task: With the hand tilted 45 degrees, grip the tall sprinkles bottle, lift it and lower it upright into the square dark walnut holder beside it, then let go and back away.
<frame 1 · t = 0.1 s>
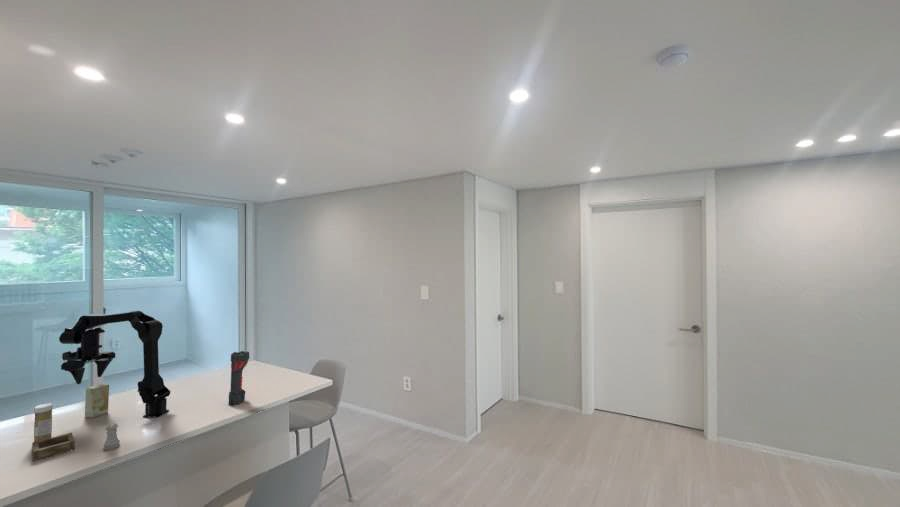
hand: (89, 380, 156), 15 cm above the table, tool pointing down, fingers open, 9 cm apart
flashlight: (239, 402, 170), on the table
rook chess piece: (111, 448, 129), on the table
walnut holder: (53, 450, 127), on the table
skincare box: (96, 415, 156), on the table
sprinkles bottle: (42, 443, 132), on the table
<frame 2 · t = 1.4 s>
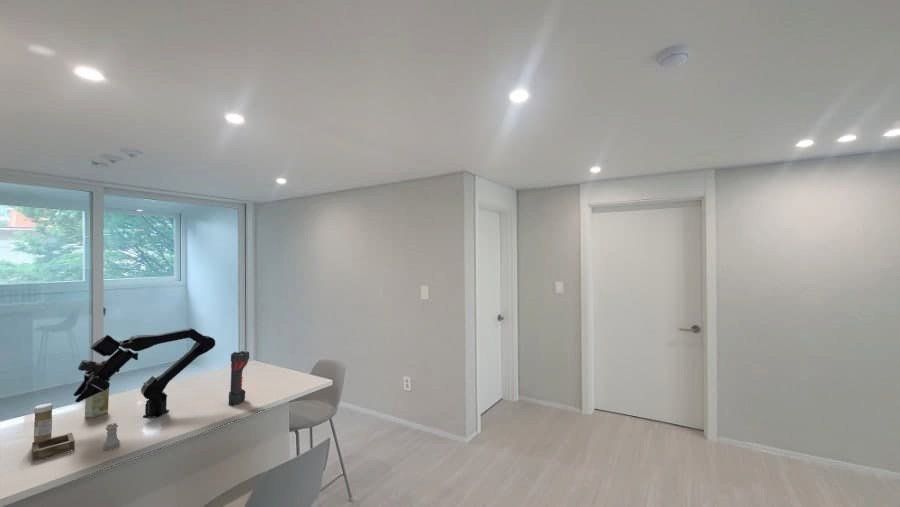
hand: (75, 398, 139), 14 cm above the table, tool tilted 45°, fingers open, 9 cm apart
nothing on the table moved.
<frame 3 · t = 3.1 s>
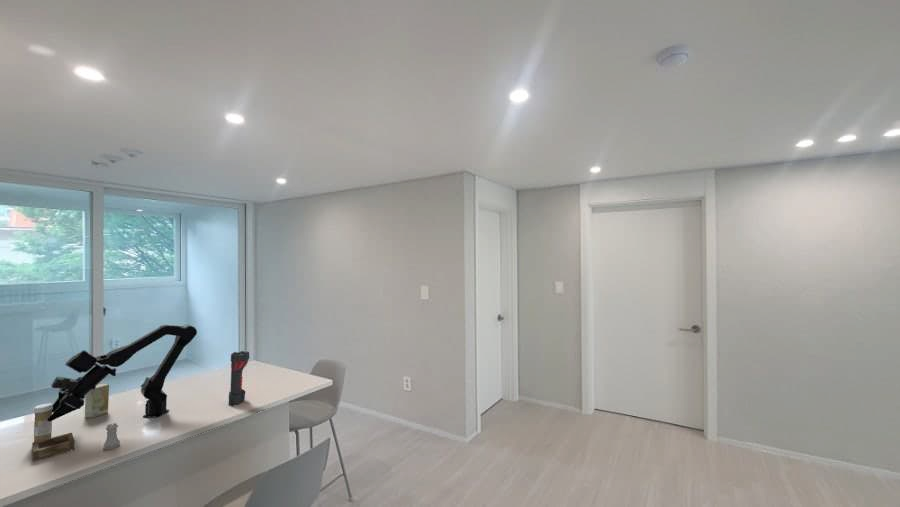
hand: (47, 417, 133), 9 cm above the table, tool tilted 45°, fingers open, 9 cm apart
nothing on the table moved.
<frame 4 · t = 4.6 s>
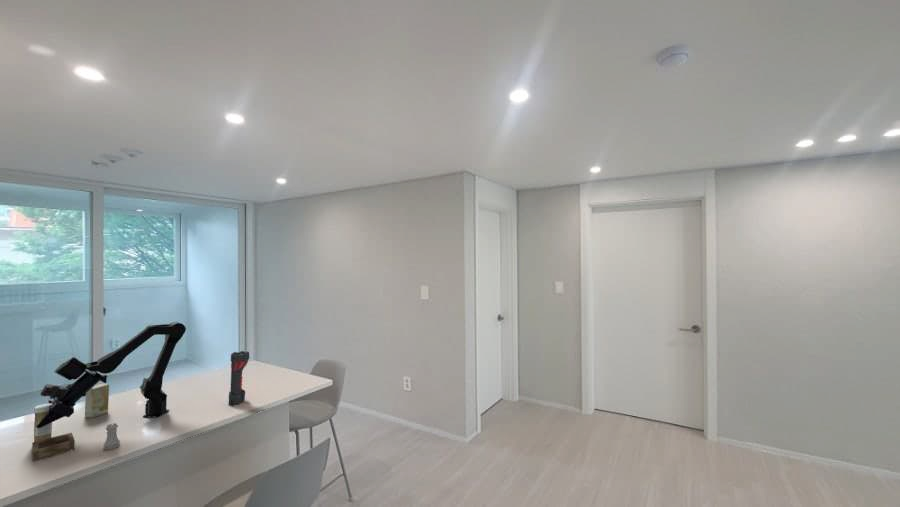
hand: (37, 425, 131), 7 cm above the table, tool tilted 45°, fingers closed on sprinkles bottle, 4 cm apart
sprinkles bottle: (42, 443, 132), on the table, touching gripper
everything else where it was.
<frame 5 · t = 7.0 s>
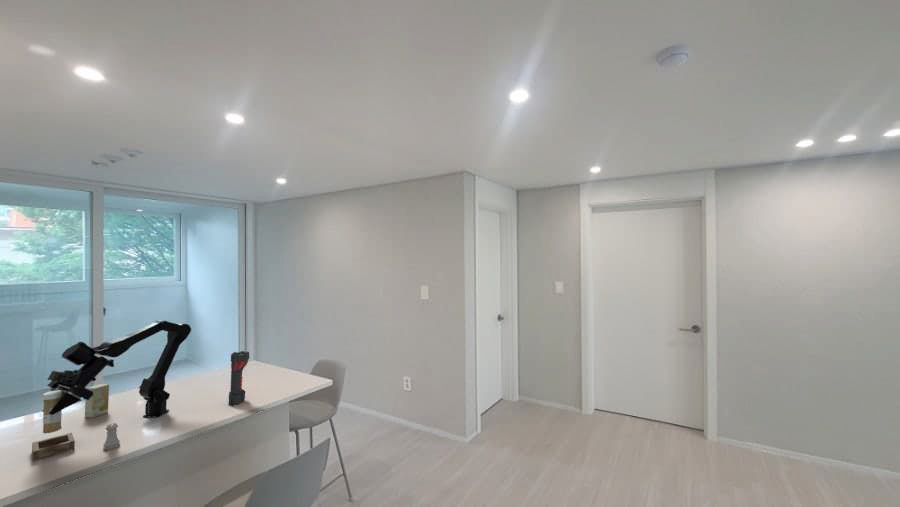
hand: (47, 413, 126), 13 cm above the table, tool tilted 45°, fingers closed on sprinkles bottle, 4 cm apart
sprinkles bottle: (52, 431, 127), point 6 cm above the table, touching gripper
everything else where it was.
when the fingers open (8 cm above the table, at t = 9.1 s): sprinkles bottle stays where it is, resting on walnut holder.
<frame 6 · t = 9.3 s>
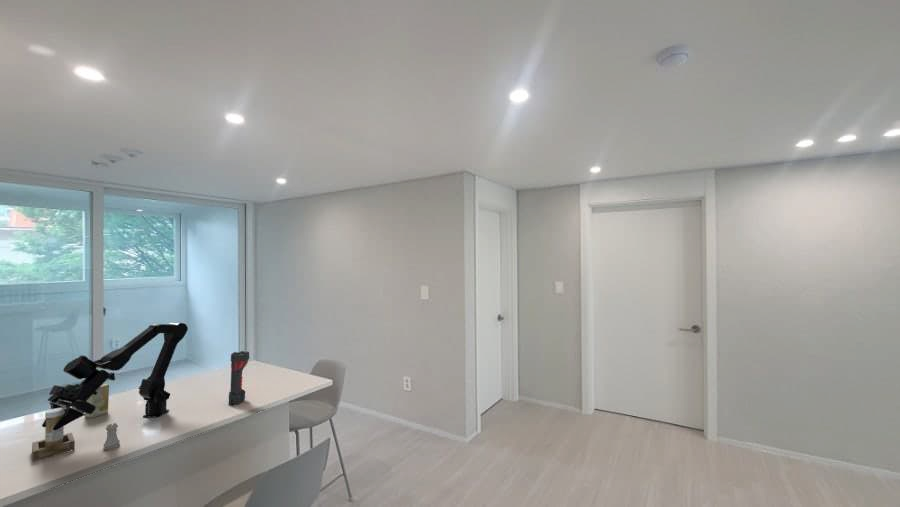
hand: (48, 428, 125), 8 cm above the table, tool tilted 45°, fingers open, 6 cm apart
sprinkles bottle: (54, 449, 127), resting on walnut holder
everything else where it was.
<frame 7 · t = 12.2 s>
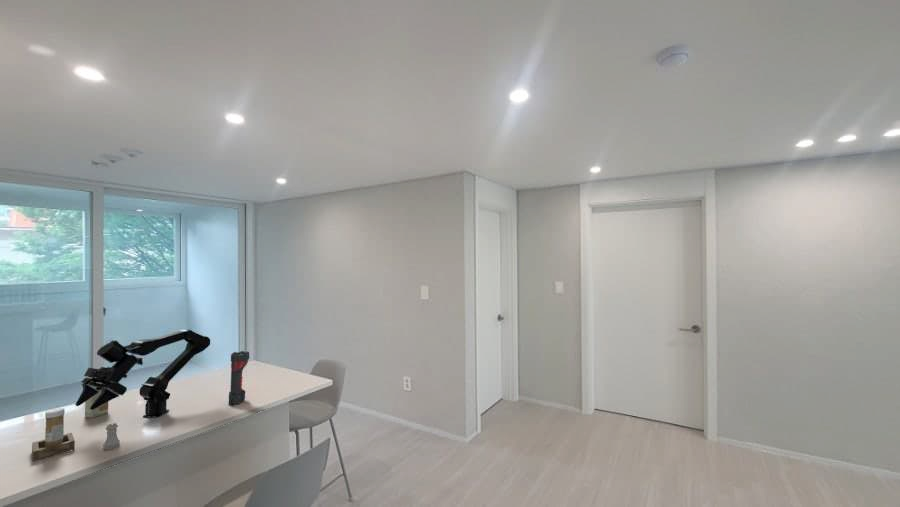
hand: (83, 407, 134), 12 cm above the table, tool tilted 45°, fingers open, 9 cm apart
nothing on the table moved.
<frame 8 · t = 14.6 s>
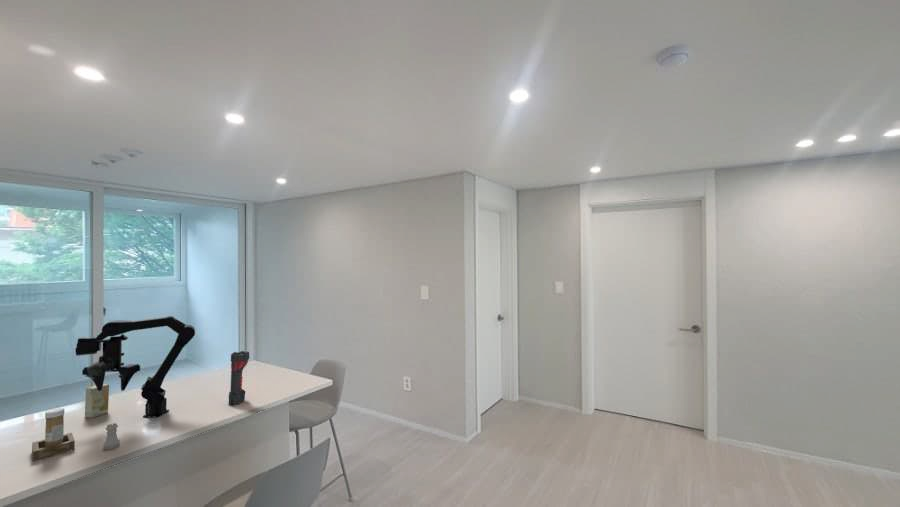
hand: (111, 390, 149), 13 cm above the table, tool pointing down, fingers open, 9 cm apart
nothing on the table moved.
at the end: sprinkles bottle 0.1 cm off-centre on the walnut holder, point 0.4 cm above the walnut holder's base; sprinkles bottle tilted 0°; the gripper is holding nothing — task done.
